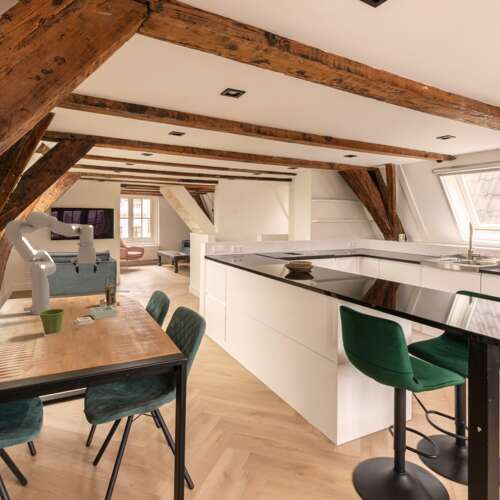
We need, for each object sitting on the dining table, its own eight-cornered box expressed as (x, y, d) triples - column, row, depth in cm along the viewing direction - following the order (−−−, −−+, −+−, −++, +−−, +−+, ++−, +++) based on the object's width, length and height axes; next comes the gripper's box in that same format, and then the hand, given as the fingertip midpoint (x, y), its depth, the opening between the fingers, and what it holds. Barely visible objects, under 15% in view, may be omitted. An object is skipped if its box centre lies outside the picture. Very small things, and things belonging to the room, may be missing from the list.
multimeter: (116, 307, 240) (115, 277, 238) (103, 306, 242) (102, 277, 240) (128, 302, 254) (127, 274, 252) (115, 302, 256) (114, 274, 254)
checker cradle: (77, 326, 197) (77, 322, 197) (74, 322, 204) (74, 318, 204) (94, 323, 202) (94, 319, 202) (91, 320, 210) (91, 316, 210)
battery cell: (100, 316, 214) (100, 299, 213) (99, 315, 217) (99, 298, 216) (107, 315, 216) (107, 299, 215) (105, 314, 219) (105, 298, 218)
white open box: (95, 321, 208) (94, 312, 208) (90, 316, 218) (90, 308, 217) (116, 317, 215) (116, 309, 215) (111, 313, 225) (110, 305, 224)
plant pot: (41, 330, 189) (40, 309, 188) (66, 328, 193) (66, 308, 193) (37, 337, 178) (36, 315, 177) (64, 335, 182) (63, 313, 182)
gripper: (71, 245, 213) (71, 274, 215) (102, 245, 223) (102, 273, 224) (69, 244, 219) (69, 272, 221) (100, 244, 229) (99, 271, 230)
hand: (86, 272), depth 223 cm, fingers open, 9 cm apart
